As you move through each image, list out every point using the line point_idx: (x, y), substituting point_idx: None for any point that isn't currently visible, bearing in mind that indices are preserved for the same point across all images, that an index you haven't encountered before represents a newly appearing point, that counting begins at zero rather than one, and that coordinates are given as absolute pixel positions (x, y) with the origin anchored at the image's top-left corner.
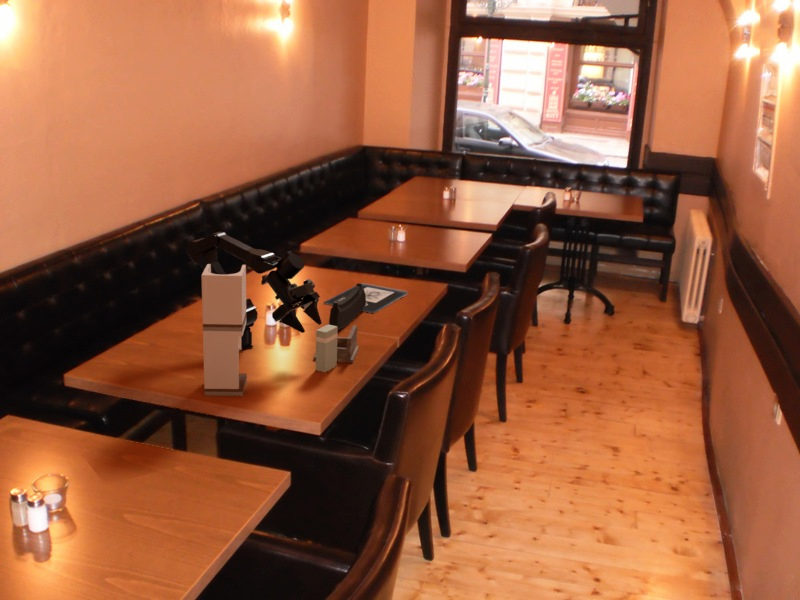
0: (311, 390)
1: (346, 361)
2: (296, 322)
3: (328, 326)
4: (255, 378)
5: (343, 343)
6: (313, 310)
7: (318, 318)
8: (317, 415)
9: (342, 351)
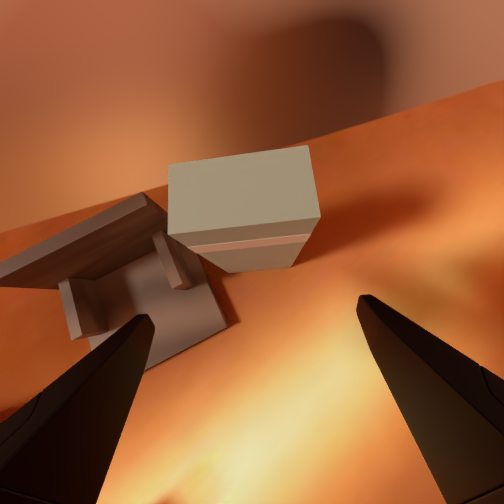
0: (407, 187)
1: None
2: (492, 381)
3: (201, 205)
4: None
5: (91, 304)
6: (30, 471)
7: (121, 346)
8: (500, 92)
9: (171, 246)
